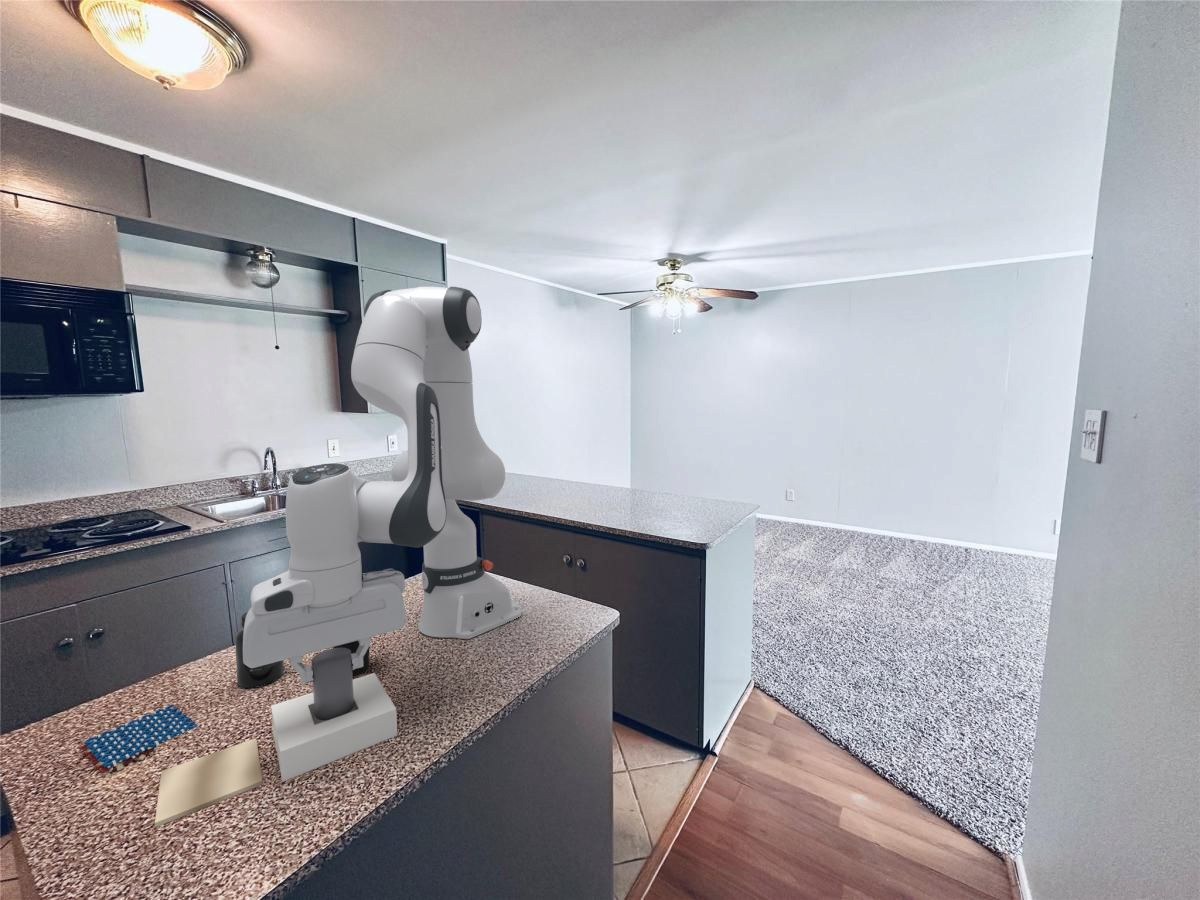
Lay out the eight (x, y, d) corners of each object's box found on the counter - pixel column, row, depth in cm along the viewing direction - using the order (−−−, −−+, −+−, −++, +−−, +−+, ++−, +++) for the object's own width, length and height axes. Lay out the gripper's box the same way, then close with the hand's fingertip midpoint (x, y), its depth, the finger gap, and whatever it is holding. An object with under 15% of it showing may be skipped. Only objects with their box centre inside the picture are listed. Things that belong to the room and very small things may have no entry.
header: (375, 701, 80) (374, 672, 79) (397, 741, 71) (396, 708, 70) (273, 738, 71) (270, 705, 71) (282, 788, 62) (280, 751, 61)
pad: (256, 747, 69) (256, 737, 69) (263, 791, 61) (262, 780, 61) (162, 781, 63) (161, 770, 63) (156, 835, 55) (154, 822, 55)
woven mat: (77, 754, 69) (76, 740, 69) (173, 713, 78) (172, 701, 78) (101, 783, 63) (100, 769, 63) (201, 736, 72) (200, 723, 72)
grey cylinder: (350, 694, 74) (347, 644, 73) (357, 711, 70) (354, 658, 69) (312, 706, 71) (309, 654, 70) (317, 725, 67) (313, 669, 66)
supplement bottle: (260, 691, 83) (256, 623, 82) (227, 686, 84) (222, 619, 83) (293, 670, 89) (289, 606, 88) (262, 665, 91) (258, 603, 90)
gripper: (398, 560, 77) (402, 643, 79) (238, 590, 65) (245, 688, 67) (409, 571, 72) (413, 660, 74) (238, 606, 60) (246, 711, 62)
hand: (332, 674), depth 70 cm, fingers closed on grey cylinder, 5 cm apart
